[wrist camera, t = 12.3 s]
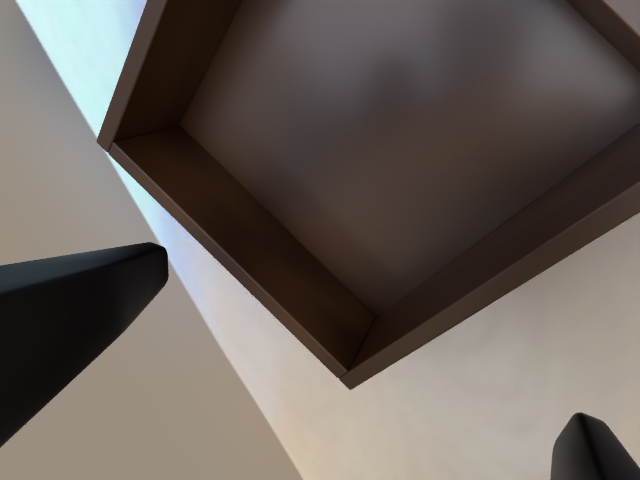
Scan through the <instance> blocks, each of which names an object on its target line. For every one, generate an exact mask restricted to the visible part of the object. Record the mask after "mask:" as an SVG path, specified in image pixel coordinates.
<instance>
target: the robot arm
mask: <svg viewBox="0 0 640 480" xmlns="http://www.w3.org/2000/svg"><path fill="white" fill-rule="evenodd" d="M168 275H169V274H168V255H167V251H166V249H165V248H164V247H162V246H160V245H157V244H155V243H151V242H147V243H141V244H134V245H128V246H122V247H116V248H109V249H103V250H97V251H90V252H84V253H78V254H71V255H65V256H59V257H52V258H46V259H40V260H33V261H27V262H21V263H15V264H8V265H2V266H0V448H1V447H2V445H4V444H5V443H6V442H7V441H8V440H9V439H10V438H11V437H12V436H13V435H14V434H15V433H17V432H18V431H19V430H20V429H21V428H22V427H23V426H24V425H25V424H26V423H27V422H28V421H29V420H30V419H31V418H32V417H34V416H35V415H36V414H37V413H38V412H39V411H40V410H41V409H42V408H43V407H44V406H45V405H46V404H47V403H49V402H50V400H52V399H53V398H54V397H55V396H56V395H57V394H58V393H59V392H60V391H61V390H62V389H64V387H66V386H67V385H68V384H69V383H70V382H71V381H72V380H73V379H74V378H75V377H76V376H77V375H78V374H80V373H81V372H82V371H83V370H84V369H85V368H86V367H87V366H88V365H89V364H90V363H91V362H92V361H93V360H94V359H95V358H97V357H98V356H99V355H100V354H101V353H102V352H103V351H104V350H105V349H106V348H107V347H108V346H109V345H110V344H112V343H113V341H115V340H116V339H117V338H118V337H119V336H120V335H121V334H122V333H123V332H124V331H125V330H126V329H127V328H128V326H130V324H131V323H132V322H133V321H134V320H135V319H136V318H137V317H138V315H139V314H140V313H141V312H142V311H143V310H144V308H145V307H146V306H147V305H148V304H149V303H150V302H151V300H153V298H154V297H155V296H156V295H157V294H158V293H159V291H160V290H161V289H162V288H163V287H164V286H165V284H166V282H167V280H168ZM551 480H640V468H639V467H638V465H637V464H636V463H635V461H634V460H633V459H632V457H631V456H630V455H629V453H628V452H627V451H626V449H625V448H624V447H623V445H622V444H621V443H620V442H619V440H618V439H617V438H616V436H615V435H614V434H613V432H612V431H611V430H610V428H609V427H608V426H607V425H606V424H605V423H604V422H603V421H601V420H599V419H597V418H594V417H592V416H589V415H587V414H584V413H581V412H580V413H576V414H574V415H573V416H572V418H571V419H570V420H569V422H568V423H567V425H566V426H565V428H564V429H563V431H562V432H561V434H560V435H559V437H558V438H557V440H556V442H555V444H554V447H553V453H552V466H551Z"/></svg>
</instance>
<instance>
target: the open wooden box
mask: <svg viewBox="0 0 640 480" xmlns="http://www.w3.org/2000/svg"><path fill="white" fill-rule="evenodd" d="M97 143H98V144H99V145H100V146H101V147H102V148H103V149H104V150H105V151H106V152H109V155H110V156H111V157H112V158H113V159H114V160H115V161H116V162H117V163H118V164H119V165H120V166H121V167H122V168H123V169H124V170H125V171H127V172H128V173H129V174H130V175H131V176H132V177H133V178H134V179H135V180H136V181H137V182H138V183H139V184H140V185H141V186H142V187H143V188H144V189H145V190H146V191H147V192H148V193H149V194H150V195H151V196H152V197H153V198H154V199H155V200H156V201H157V202H158V203H159V204H160V205H161V206H162V207H163V208H164V209H165V210H166V211H167V212H168V213H169V214H170V215H171V216H172V217H174V218H175V219H176V220H177V221H178V222H179V223H180V224H181V225H182V226H183V227H184V228H185V229H186V230H187V231H188V232H189V233H190V234H191V235H192V236H193V237H194V238H195V239H196V240H197V241H198V242H199V243H200V244H201V245H202V246H203V247H204V248H205V249H206V250H207V251H208V252H209V253H210V254H211V255H212V256H213V257H214V258H215V259H216V260H217V261H218V262H220V263H221V264H222V265H223V266H224V267H225V268H226V269H227V270H228V271H229V272H230V273H231V274H232V275H233V276H234V277H235V278H236V279H237V280H238V281H239V282H240V283H241V284H242V285H243V286H244V287H245V288H246V289H247V290H248V291H249V292H250V293H251V294H252V295H253V296H254V297H255V298H256V299H257V300H258V301H259V302H260V303H261V304H262V305H263V306H264V307H266V308H267V309H268V310H269V311H270V312H271V313H272V314H273V315H274V316H275V317H276V318H277V319H278V320H279V321H280V322H281V323H282V324H283V325H284V326H285V327H286V328H287V329H288V330H289V331H290V332H291V333H292V334H293V335H294V336H295V337H296V338H297V339H298V340H299V341H300V342H301V343H302V344H303V345H304V346H305V347H306V348H307V349H308V350H309V351H310V352H312V353H313V354H314V355H315V356H316V357H317V358H318V359H319V360H320V361H321V362H322V363H323V364H324V365H325V366H326V367H327V368H328V369H329V370H330V371H331V372H332V373H333V374H334V375H335V376H336V377H337V378H339V377H340V378H339V380H340V381H341V382H342V383H343V384H344V385H345V386H346V387H347V388H348V389H350V390H351V389H353V388H355V387H356V386H358V385H360V384H361V383H363V382H364V381H366V380H368V379H369V378H371V377H373V376H374V375H376V374H377V373H379V372H381V371H382V370H384V369H386V368H387V367H389V366H390V365H392V364H394V363H395V362H397V361H399V360H400V359H402V358H403V357H405V356H407V355H408V354H410V353H412V352H413V351H415V350H416V349H418V348H420V347H421V346H423V345H425V344H426V343H428V342H429V341H431V340H433V339H434V338H436V337H438V336H439V335H441V334H442V333H444V332H446V331H447V330H449V329H451V328H452V327H454V326H455V325H457V324H459V323H460V322H462V321H464V320H465V319H467V318H468V317H470V316H472V315H473V314H475V313H477V312H478V311H480V310H481V309H483V308H485V307H486V306H488V305H490V304H491V303H493V302H494V301H496V300H498V299H499V298H501V297H503V296H504V295H506V294H507V293H509V292H511V291H512V290H514V289H516V288H517V287H519V286H520V285H522V284H524V283H525V282H527V281H529V280H530V279H532V278H533V277H535V276H537V275H538V274H540V273H542V272H543V271H545V270H546V269H548V268H550V267H551V266H553V265H555V264H556V263H558V262H559V261H561V260H563V259H564V258H566V257H568V256H569V255H571V254H572V253H574V252H576V251H577V250H579V249H581V248H582V247H584V246H585V245H587V244H589V243H590V242H592V241H594V240H595V239H597V238H598V237H600V236H602V235H603V234H605V233H607V232H608V231H610V230H611V229H613V228H615V227H616V226H618V225H620V224H621V223H623V222H624V221H626V220H628V219H629V218H631V217H633V216H634V215H636V214H637V213H639V212H640V0H147V2H146V5H145V8H144V11H143V14H142V16H141V19H140V22H139V25H138V27H137V30H136V33H135V36H134V38H133V41H132V44H131V47H130V50H129V52H128V55H127V58H126V61H125V63H124V66H123V69H122V72H121V75H120V77H119V80H118V83H117V86H116V88H115V91H114V94H113V97H112V100H111V102H110V105H109V108H108V111H107V113H106V116H105V119H104V122H103V124H102V127H101V130H100V133H99V136H98V138H97Z"/></svg>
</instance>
